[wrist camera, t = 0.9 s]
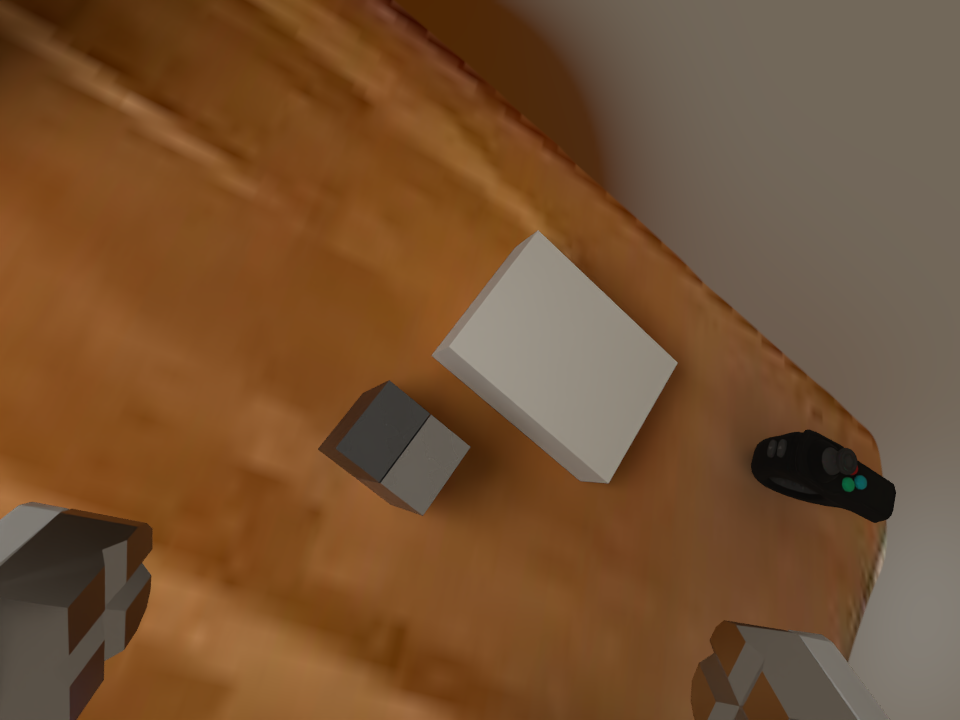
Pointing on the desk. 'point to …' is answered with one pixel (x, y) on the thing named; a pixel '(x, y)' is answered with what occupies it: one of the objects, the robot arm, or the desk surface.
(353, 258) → the desk surface
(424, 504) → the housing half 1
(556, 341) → the stand
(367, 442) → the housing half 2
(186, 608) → the desk surface
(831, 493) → the controller
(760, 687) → the robot arm
